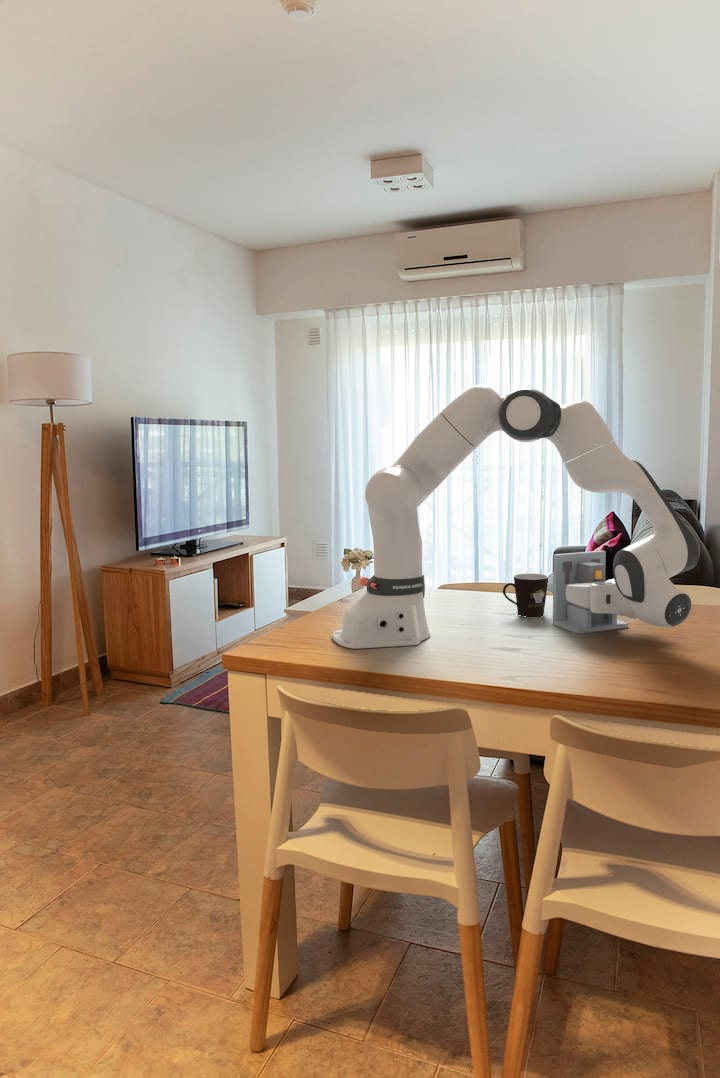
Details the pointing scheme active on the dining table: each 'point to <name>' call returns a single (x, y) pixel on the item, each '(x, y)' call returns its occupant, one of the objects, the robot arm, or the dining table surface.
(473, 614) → the dining table surface
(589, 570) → the grey tall rectangular block
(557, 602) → the grey l-shaped stand
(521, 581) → the coffee mug
